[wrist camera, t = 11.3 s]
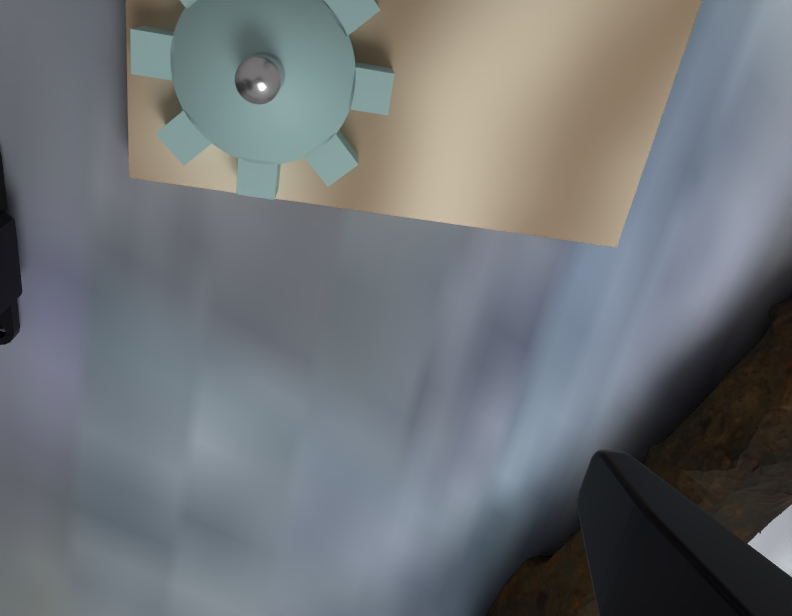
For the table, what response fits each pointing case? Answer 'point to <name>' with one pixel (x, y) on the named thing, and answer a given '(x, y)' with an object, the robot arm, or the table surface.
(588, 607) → the hand tool
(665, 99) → the gear board
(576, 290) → the table surface
